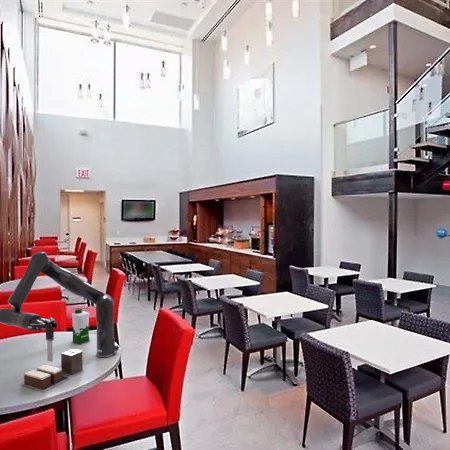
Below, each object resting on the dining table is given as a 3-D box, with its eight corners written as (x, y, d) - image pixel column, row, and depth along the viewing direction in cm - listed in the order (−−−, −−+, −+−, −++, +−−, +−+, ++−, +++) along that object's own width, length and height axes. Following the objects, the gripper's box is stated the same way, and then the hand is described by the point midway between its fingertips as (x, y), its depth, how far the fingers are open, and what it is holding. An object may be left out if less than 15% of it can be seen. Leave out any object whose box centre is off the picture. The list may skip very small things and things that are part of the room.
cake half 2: (36, 378, 178) (36, 367, 178) (44, 374, 182) (44, 364, 182) (54, 383, 173) (54, 372, 173) (62, 379, 177) (62, 368, 177)
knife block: (61, 374, 184) (61, 353, 184) (72, 368, 191) (72, 348, 190) (71, 376, 181) (71, 355, 181) (82, 371, 188) (82, 350, 187)
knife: (45, 361, 174) (45, 321, 173) (49, 359, 176) (49, 320, 175) (50, 362, 173) (49, 322, 172) (54, 360, 175) (54, 321, 174)
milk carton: (82, 338, 236) (82, 307, 235) (91, 341, 231) (91, 309, 231) (70, 342, 229) (69, 310, 228) (79, 345, 224) (79, 312, 223)
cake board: (21, 385, 172) (21, 383, 172) (46, 373, 185) (46, 371, 185) (43, 392, 166) (43, 390, 166) (68, 379, 179) (68, 377, 179)
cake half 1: (24, 383, 172) (24, 373, 172) (32, 379, 176) (32, 369, 176) (42, 389, 167) (42, 378, 167) (50, 384, 171) (50, 374, 171)
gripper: (15, 317, 173) (41, 322, 166) (41, 310, 186) (66, 314, 179) (15, 333, 174) (41, 338, 166) (41, 325, 186) (66, 330, 179)
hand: (54, 326), depth 173 cm, fingers closed on knife, 2 cm apart
